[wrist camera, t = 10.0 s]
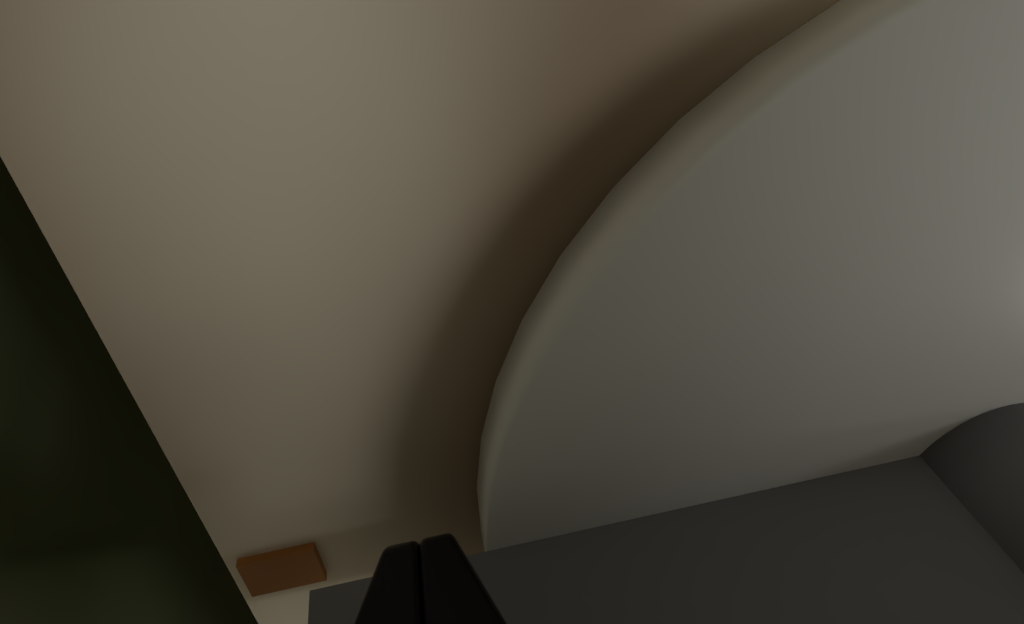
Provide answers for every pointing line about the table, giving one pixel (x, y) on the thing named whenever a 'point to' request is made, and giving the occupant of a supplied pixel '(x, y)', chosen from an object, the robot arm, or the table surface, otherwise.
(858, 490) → the dial
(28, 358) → the table surface
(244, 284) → the dial base
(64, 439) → the table surface
